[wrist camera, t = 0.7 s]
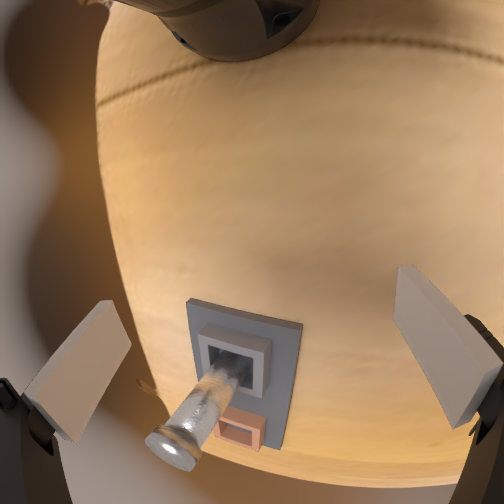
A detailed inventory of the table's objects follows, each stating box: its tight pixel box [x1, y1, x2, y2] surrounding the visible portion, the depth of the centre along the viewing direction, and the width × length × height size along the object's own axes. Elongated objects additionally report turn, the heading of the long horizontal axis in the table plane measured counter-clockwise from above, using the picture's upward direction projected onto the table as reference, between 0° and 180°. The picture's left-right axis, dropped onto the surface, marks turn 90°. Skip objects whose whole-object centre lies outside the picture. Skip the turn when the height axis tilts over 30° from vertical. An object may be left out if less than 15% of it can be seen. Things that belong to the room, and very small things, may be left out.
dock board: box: [186, 298, 303, 452], centre depth 35 cm, size 28×14×4 cm, turn 0°
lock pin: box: [145, 350, 253, 471], centre depth 25 cm, size 5×5×16 cm
